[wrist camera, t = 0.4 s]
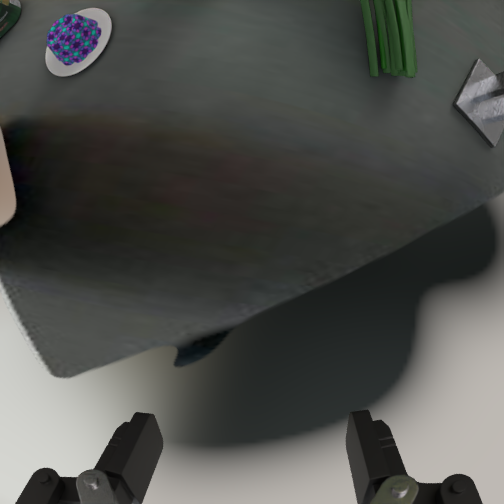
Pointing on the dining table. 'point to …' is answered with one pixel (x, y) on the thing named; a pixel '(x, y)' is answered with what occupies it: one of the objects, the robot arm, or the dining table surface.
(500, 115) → the bracket
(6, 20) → the coffee jar
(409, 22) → the daffodil flowers
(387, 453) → the robot arm
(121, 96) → the dining table surface
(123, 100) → the dining table surface
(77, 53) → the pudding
